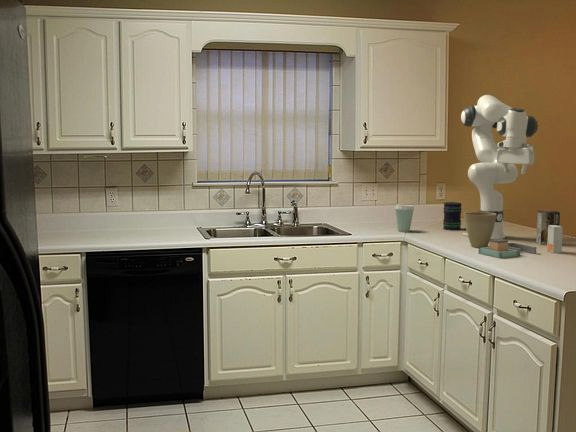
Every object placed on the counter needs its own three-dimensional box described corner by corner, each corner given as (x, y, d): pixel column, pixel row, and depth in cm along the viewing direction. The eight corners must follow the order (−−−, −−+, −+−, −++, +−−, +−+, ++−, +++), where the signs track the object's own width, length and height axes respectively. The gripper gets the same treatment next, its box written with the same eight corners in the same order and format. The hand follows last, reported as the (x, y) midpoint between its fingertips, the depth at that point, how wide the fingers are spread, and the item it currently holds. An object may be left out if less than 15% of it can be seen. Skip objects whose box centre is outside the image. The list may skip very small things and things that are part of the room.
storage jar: (443, 230, 375) (444, 203, 373) (442, 227, 384) (443, 202, 382) (461, 230, 373) (462, 204, 371) (460, 228, 382) (461, 202, 381)
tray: (478, 253, 300) (478, 248, 300) (496, 251, 305) (496, 246, 305) (499, 258, 289) (500, 252, 288) (518, 256, 294) (518, 250, 294)
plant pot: (486, 243, 328) (488, 211, 326) (500, 248, 313) (502, 215, 311) (457, 244, 326) (458, 212, 324) (470, 249, 311) (471, 215, 309)
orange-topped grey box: (488, 253, 298) (489, 239, 297) (499, 252, 301) (499, 238, 300) (497, 255, 293) (497, 241, 293) (507, 253, 296) (508, 240, 295)
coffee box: (554, 242, 331) (555, 210, 329) (559, 244, 325) (560, 211, 323) (535, 242, 331) (537, 210, 329) (540, 244, 325) (541, 211, 323)
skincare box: (546, 250, 308) (547, 225, 306) (555, 250, 308) (556, 225, 307) (552, 253, 302) (554, 226, 300) (561, 253, 302) (563, 226, 301)
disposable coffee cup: (404, 229, 378) (405, 203, 376) (418, 231, 369) (418, 204, 367) (390, 230, 372) (390, 204, 370) (403, 233, 363) (404, 205, 361)
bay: (494, 250, 308) (494, 244, 308) (511, 248, 313) (511, 242, 313) (518, 255, 295) (518, 248, 295) (536, 253, 300) (536, 247, 300)
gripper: (538, 143, 301) (537, 174, 302) (504, 143, 319) (503, 172, 320) (528, 144, 298) (527, 175, 300) (494, 143, 316) (493, 172, 317)
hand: (514, 173), depth 310 cm, fingers open, 8 cm apart
